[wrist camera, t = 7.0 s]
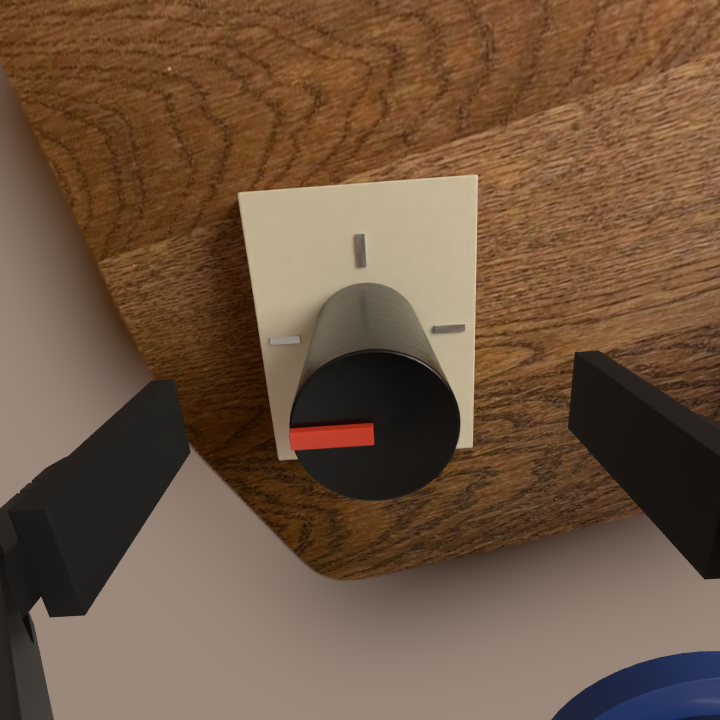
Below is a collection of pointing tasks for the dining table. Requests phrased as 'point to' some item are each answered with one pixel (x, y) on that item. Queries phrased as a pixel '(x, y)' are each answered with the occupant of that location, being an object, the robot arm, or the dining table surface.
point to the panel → (363, 272)
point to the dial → (372, 399)
